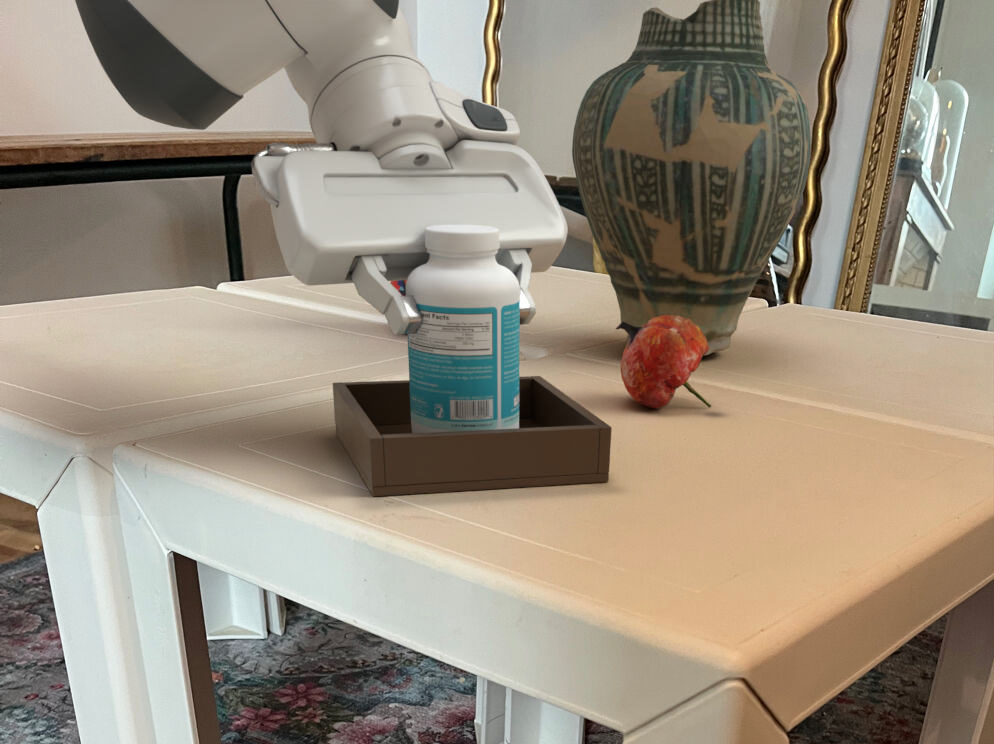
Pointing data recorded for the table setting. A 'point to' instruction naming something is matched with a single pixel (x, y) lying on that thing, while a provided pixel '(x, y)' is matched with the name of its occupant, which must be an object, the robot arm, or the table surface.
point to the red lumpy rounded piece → (661, 358)
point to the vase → (691, 166)
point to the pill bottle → (464, 334)
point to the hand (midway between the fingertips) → (468, 324)
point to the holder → (469, 442)
